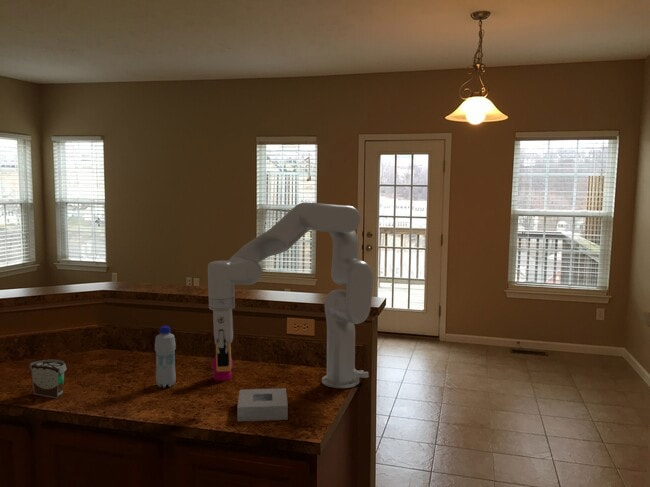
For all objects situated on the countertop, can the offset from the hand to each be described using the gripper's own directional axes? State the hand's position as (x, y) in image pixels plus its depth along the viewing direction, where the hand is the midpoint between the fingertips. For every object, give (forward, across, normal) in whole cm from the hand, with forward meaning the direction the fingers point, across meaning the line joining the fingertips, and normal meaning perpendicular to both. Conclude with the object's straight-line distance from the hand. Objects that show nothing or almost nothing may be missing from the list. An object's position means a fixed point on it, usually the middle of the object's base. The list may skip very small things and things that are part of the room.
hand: (223, 363), depth 161 cm
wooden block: (+2, 0, 0) cm, 2 cm away
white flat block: (+13, -4, -11) cm, 18 cm away
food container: (+12, +16, +55) cm, 58 cm away
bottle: (+13, +20, +21) cm, 31 cm away
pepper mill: (+14, +26, +3) cm, 29 cm away
